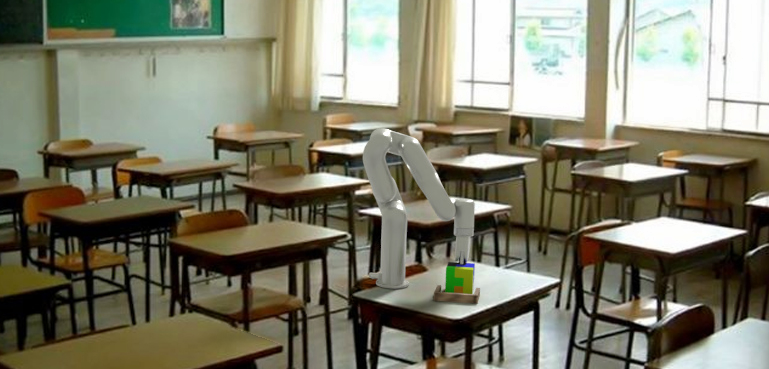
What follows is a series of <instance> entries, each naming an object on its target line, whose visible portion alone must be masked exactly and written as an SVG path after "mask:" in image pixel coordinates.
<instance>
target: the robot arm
mask: <svg viewBox="0 0 769 369" xmlns="http://www.w3.org/2000/svg"><path fill="white" fill-rule="evenodd" d="M387 153H389V154H392V155H396V156H399V157H401V158H402V160H403V162H404V164H405V165H406V167H407V168H408V170H409V172H410V174H411V176H412V178H413V180H415V181H414V182H416V184H417V186H418V188H420V190H421V191H422V193H423V194H424V196H425V198H426V199H427V201H428V203H429V205H430V207H431V208H432V210H433V211H434V213H435V215H436V217H437V218H438V219H439V220H441V221H442V222H449V221H451V220H453V219H454V220H453V221H454V224H453V236H455V237H456V239H455V250H454V252H455V253H454V262H457V263H460V264H464V263H468V261H469V257H470V250H471V249H470V248H471V237H473V236H474V233H475V232H474V231H475V210H476V209H475V207H476V206H475V205H476V204H475V201H474V200H473V199H470V198H459V199H458V198H451V197H450V196H449V195H448V193H447V191H446V189H445V188H444V186H443V184H442V182H441V178H440V177H439V174H438V172H437V171H436V169H435V166H433V163H432V162H431V160H430V158H429V157H428V155H427V153H426V152H425V150H424V148H423V147H422V145H421V143H420V141H419V140H418V139H417V138H415V137H413V136H410V135H407V134H403V133H401V132H396V131H393V130H391V129H388V128H384V127H381V128H376V129H374V130H373V131H372V132H371V134H370V136H369V140H368V141H367V142H366V143H365V146H364V149H363V153H362V163H363V167H364V170H365V173H366V176H367V178H368V182H369V184H370V186H371V187H370V188H371V191H372V194H373V196H374V198H375V201H376V203H377V206H378V209H379V211H380V214H381V236H380V237H381V239H380V245H381V246H380V247H381V248H380V272H377V273H375V272H369V275H368V277H369V278H370V279H371V280H376V281H375V285H376V286H377V287H380V288H384V289H391V290H392V289H393V290H394V289H395V290H396V289H398V290H399V289H405V288H407V287H409V285H410V282H409V280H407V279H406V263H407V262H406V261H407V259H406V258H407V232H408V212H407V209H406V207H405V203H404V201H403V199H402V196H401V194H400V191H399V188H398V185H397V183H396V180H395V179H394V177H393V176H392V174H391V171H390V169H389V165H388V163H387V160H386V156H387Z"/></svg>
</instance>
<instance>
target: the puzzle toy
mask: <svg viewBox="0 0 769 369" xmlns="http://www.w3.org/2000/svg"><path fill="white" fill-rule="evenodd" d="M475 268H476V266H475V263H474V262H473V263H472V262H471V263H469V262H467V263H464V264H460V263H459V262H458V261H457V262H456V261H448V262H447V265H446V268H445V290H444V292H448V293H463V294H474V291H475V290H474V289H475V287H474V286H475V270H476V269H475Z"/></svg>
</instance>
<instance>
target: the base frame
mask: <svg viewBox="0 0 769 369" xmlns="http://www.w3.org/2000/svg"><path fill="white" fill-rule="evenodd" d="M480 296H481V287H475V290H474V292H473V294H463V293H448V292H445V291H443V292H442V285H441V284H437V285H436V287H435V289H434V292H433V301H435V302H449V303H464V304H479V299H480Z"/></svg>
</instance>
